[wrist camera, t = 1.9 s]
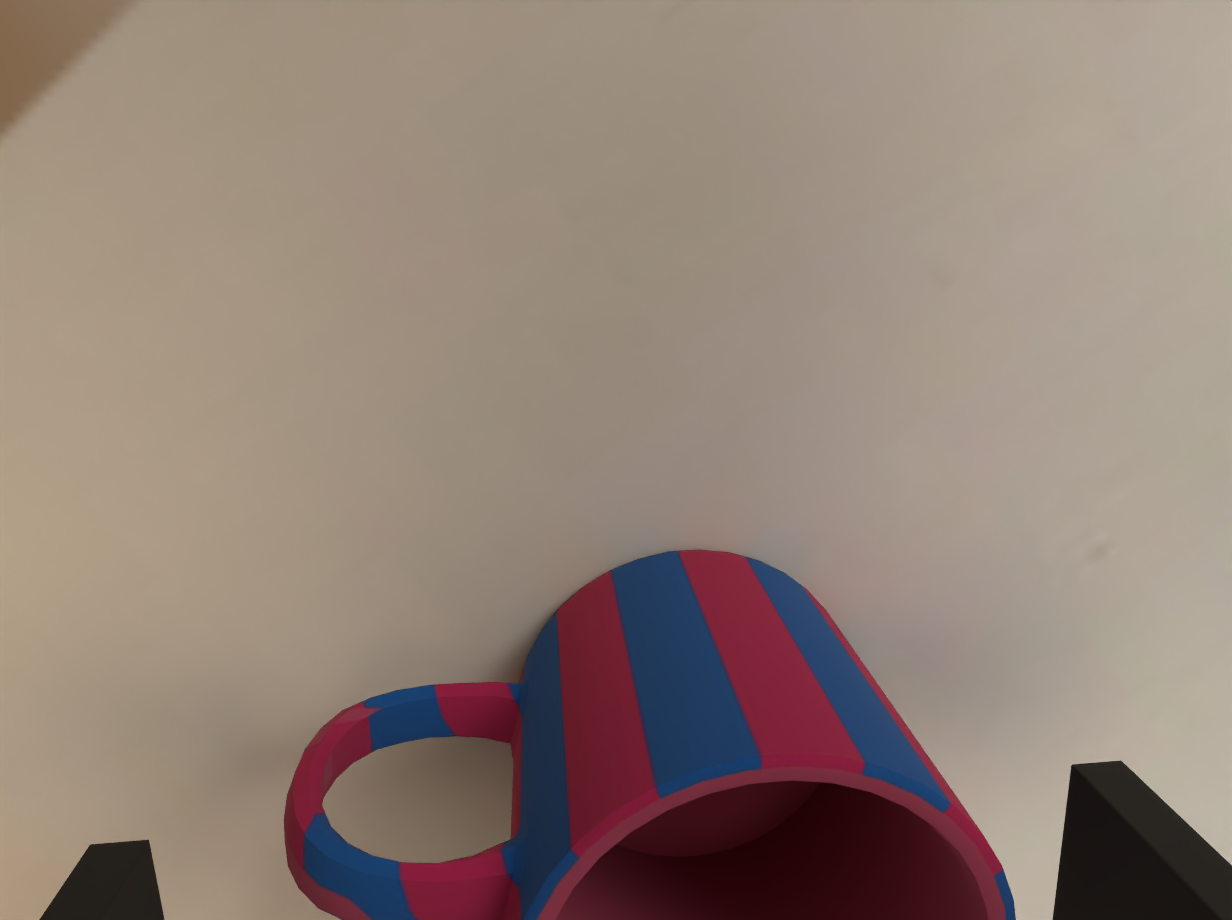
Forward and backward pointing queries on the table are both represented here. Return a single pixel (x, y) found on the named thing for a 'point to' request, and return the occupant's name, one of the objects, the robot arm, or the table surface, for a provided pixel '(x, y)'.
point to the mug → (670, 772)
